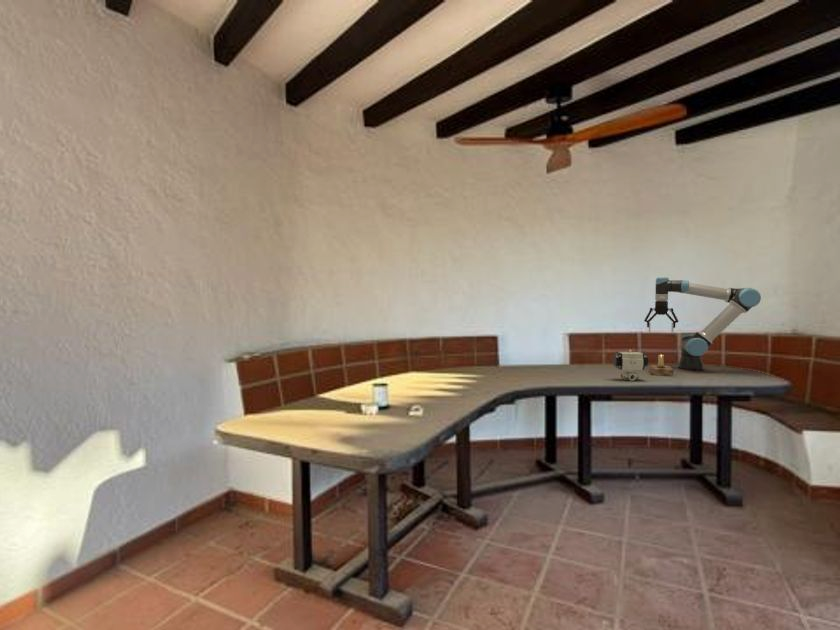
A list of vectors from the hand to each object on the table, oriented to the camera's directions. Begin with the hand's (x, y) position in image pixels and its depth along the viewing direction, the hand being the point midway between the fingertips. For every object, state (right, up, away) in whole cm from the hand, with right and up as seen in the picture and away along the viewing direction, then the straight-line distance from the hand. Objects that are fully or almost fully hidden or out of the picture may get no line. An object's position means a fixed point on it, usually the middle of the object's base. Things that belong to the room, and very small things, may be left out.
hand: (660, 332), depth 318 cm
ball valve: (-36, -27, -36) cm, 58 cm away
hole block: (-7, -25, -14) cm, 30 cm away
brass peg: (-7, -25, -14) cm, 30 cm away
